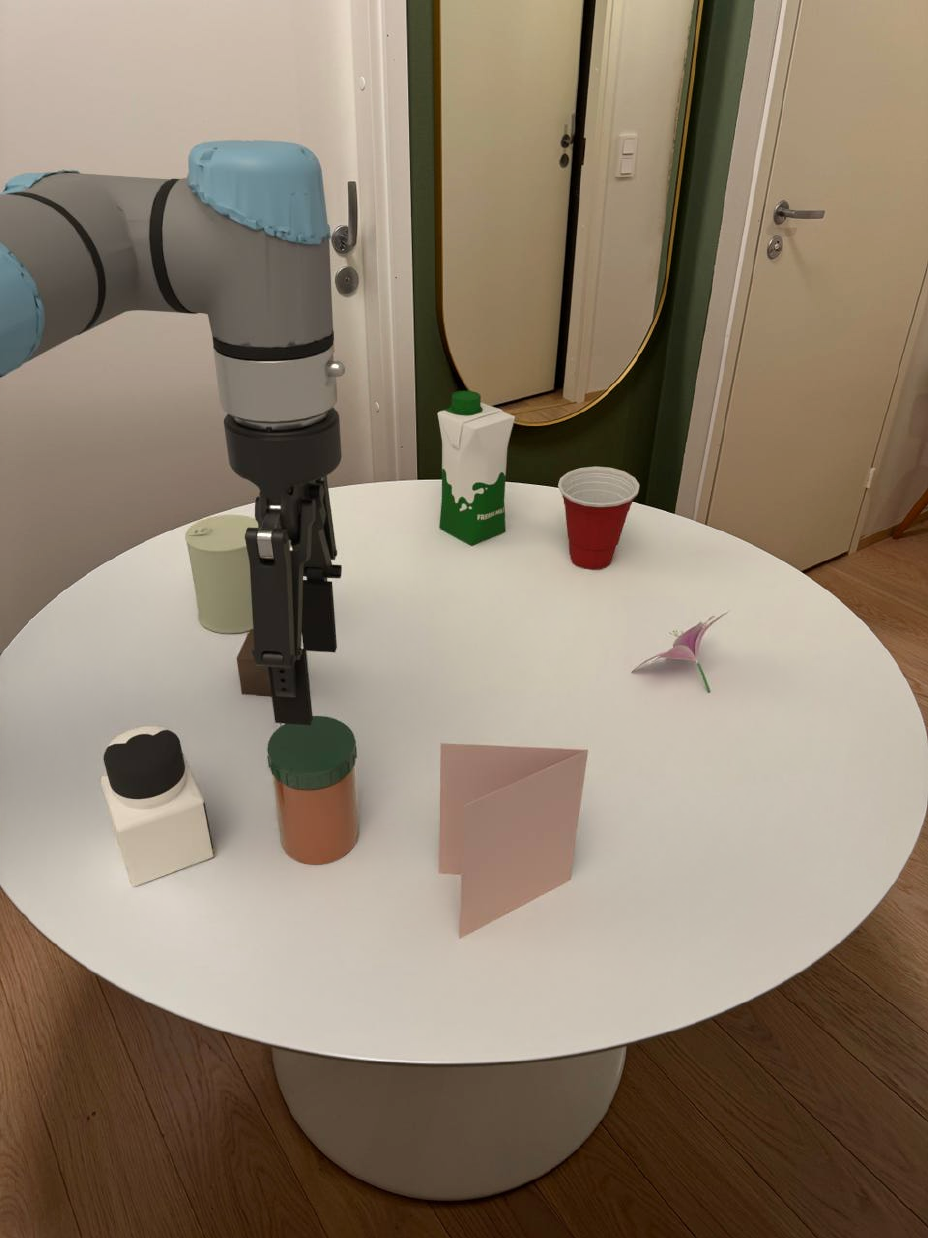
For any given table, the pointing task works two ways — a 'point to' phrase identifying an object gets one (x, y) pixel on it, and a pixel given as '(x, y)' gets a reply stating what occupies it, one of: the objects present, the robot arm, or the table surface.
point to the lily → (687, 645)
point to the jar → (318, 820)
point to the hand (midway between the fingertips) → (307, 682)
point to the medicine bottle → (154, 804)
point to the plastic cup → (596, 512)
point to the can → (222, 572)
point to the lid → (312, 753)
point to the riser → (252, 671)
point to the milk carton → (473, 467)
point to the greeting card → (507, 824)
